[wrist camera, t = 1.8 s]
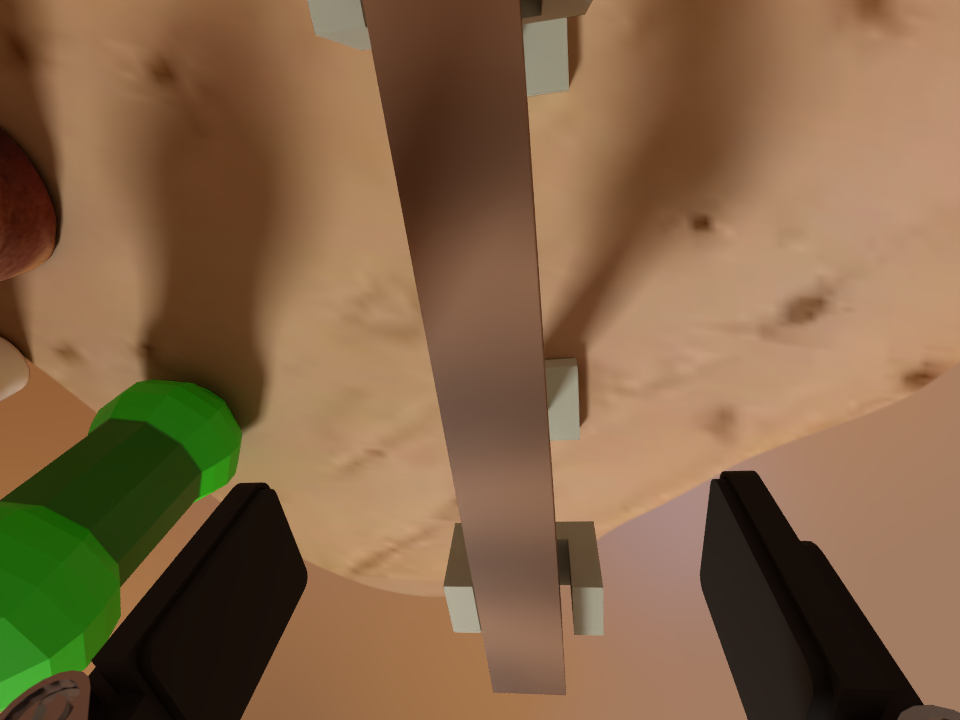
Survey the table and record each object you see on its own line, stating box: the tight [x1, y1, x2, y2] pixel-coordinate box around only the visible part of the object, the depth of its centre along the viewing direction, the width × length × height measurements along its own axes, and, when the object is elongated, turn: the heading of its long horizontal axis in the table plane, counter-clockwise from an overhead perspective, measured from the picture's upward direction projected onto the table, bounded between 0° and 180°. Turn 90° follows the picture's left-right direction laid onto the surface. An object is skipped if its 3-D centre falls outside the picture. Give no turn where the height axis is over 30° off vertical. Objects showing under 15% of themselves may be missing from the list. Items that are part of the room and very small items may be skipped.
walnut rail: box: [362, 0, 566, 695], centre depth 15 cm, size 28×3×4 cm, turn 7°
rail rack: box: [307, 0, 603, 635], centre depth 22 cm, size 28×7×17 cm, turn 7°
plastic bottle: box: [0, 379, 242, 712], centre depth 27 cm, size 10×10×25 cm
